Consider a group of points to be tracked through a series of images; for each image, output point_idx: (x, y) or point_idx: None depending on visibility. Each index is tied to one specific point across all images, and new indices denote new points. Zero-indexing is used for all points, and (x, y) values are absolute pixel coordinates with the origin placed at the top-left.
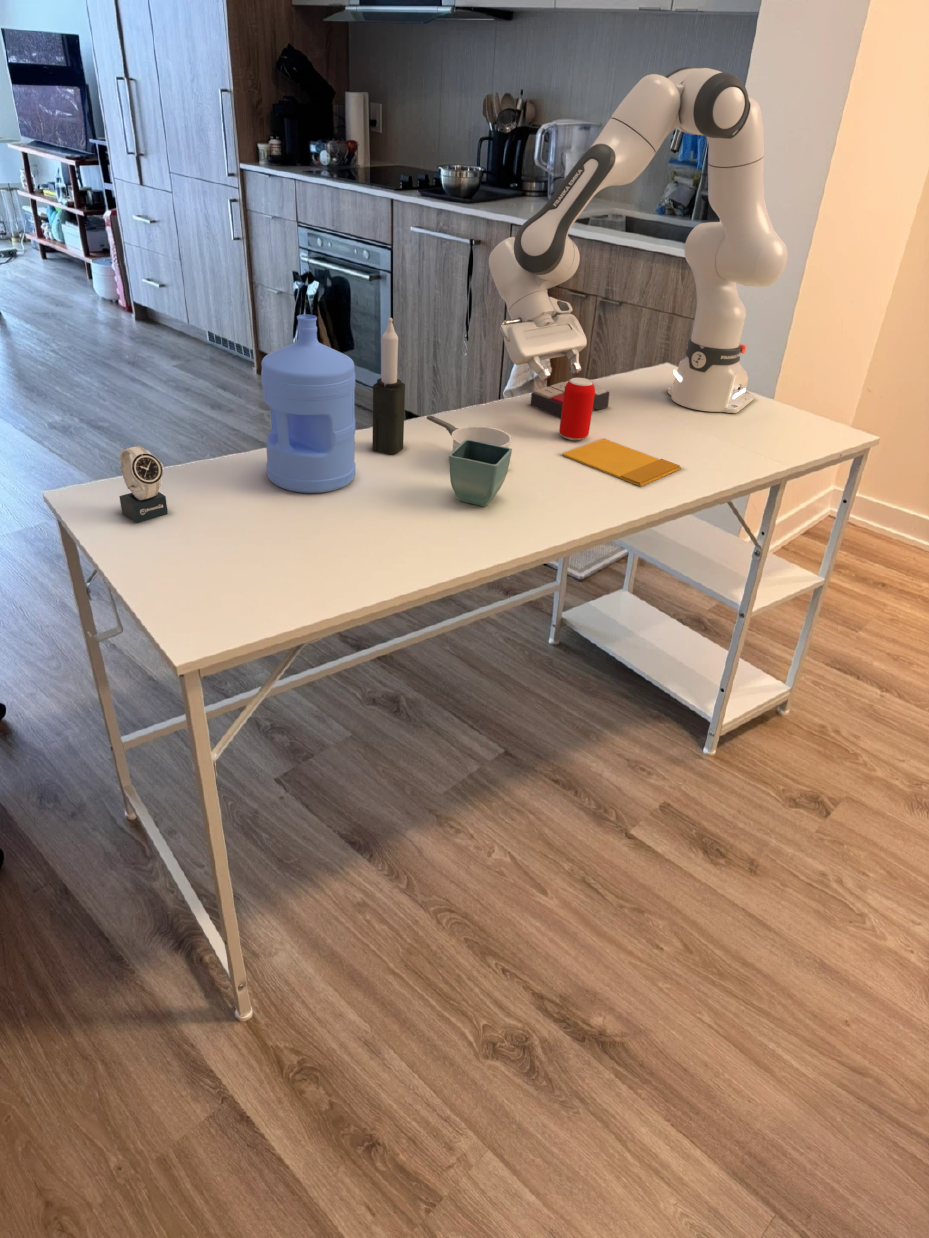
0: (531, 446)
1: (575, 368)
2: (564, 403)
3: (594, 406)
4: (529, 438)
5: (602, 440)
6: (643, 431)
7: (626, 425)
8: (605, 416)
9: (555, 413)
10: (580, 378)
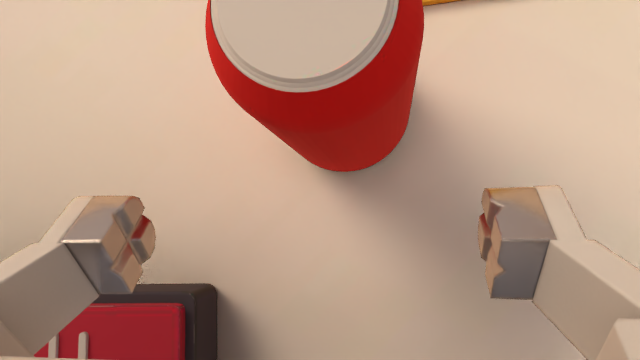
0: (590, 126)
1: (127, 213)
2: (411, 90)
3: None
4: None
5: None
6: (56, 28)
7: (57, 105)
8: (45, 220)
9: (214, 346)
10: (253, 45)
